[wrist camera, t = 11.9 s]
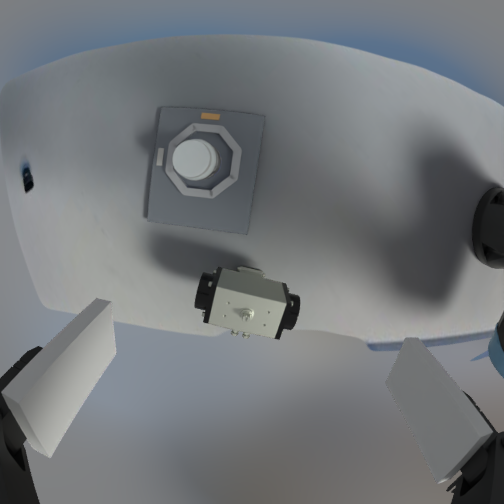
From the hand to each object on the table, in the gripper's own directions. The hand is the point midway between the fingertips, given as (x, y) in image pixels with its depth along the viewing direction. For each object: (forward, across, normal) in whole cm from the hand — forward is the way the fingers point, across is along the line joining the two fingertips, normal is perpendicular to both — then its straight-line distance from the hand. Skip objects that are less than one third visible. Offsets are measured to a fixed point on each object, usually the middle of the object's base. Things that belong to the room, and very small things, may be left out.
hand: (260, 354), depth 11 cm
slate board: (+29, +8, -7) cm, 31 cm away
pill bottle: (+28, +8, -8) cm, 30 cm away
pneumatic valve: (+29, 0, +8) cm, 30 cm away
